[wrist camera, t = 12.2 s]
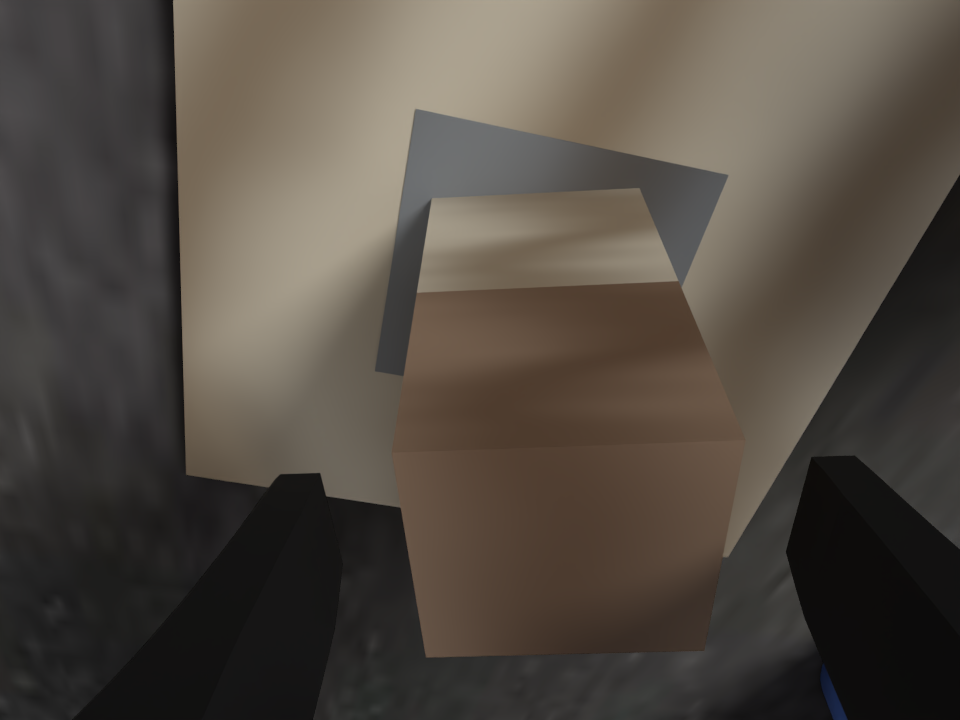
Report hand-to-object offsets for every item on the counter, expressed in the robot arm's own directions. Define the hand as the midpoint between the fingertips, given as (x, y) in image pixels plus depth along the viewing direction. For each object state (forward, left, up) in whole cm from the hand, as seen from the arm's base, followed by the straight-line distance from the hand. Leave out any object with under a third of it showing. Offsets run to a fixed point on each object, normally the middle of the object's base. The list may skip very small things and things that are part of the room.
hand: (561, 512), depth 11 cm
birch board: (0, 0, -8) cm, 8 cm away
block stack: (0, 0, -7) cm, 7 cm away
